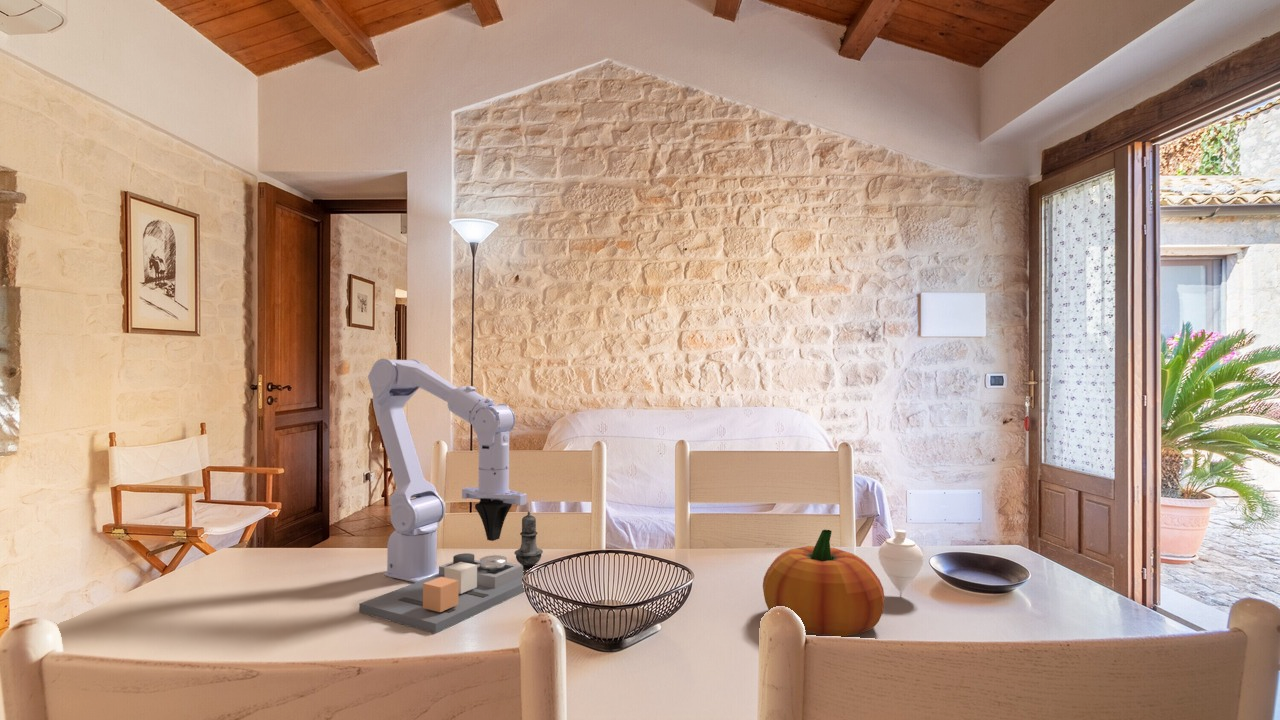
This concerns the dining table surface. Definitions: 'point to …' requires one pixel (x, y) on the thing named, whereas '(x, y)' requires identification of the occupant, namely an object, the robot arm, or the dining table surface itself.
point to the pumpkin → (825, 589)
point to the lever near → (440, 594)
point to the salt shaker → (528, 544)
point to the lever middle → (462, 575)
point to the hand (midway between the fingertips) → (493, 539)
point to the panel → (488, 593)
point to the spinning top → (900, 560)
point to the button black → (464, 558)
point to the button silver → (493, 563)
